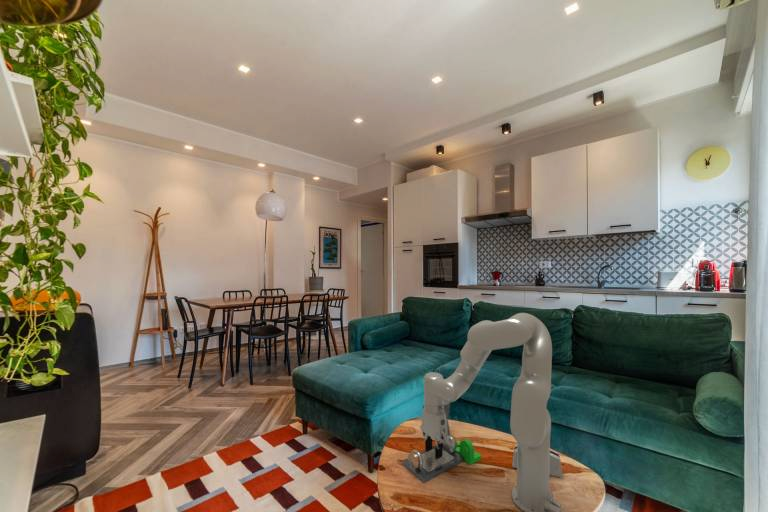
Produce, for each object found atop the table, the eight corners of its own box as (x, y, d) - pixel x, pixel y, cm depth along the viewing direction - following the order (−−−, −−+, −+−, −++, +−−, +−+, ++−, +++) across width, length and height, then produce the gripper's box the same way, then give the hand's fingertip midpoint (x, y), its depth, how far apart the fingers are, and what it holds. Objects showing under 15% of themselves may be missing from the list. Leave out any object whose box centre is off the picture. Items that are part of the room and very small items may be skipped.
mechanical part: (481, 460, 126) (481, 440, 126) (470, 465, 123) (470, 444, 123) (458, 445, 136) (458, 426, 136) (448, 449, 133) (448, 430, 133)
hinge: (560, 472, 119) (561, 446, 118) (563, 482, 115) (563, 456, 114) (511, 462, 125) (512, 437, 124) (512, 471, 121) (512, 446, 119)
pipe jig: (442, 445, 135) (442, 428, 135) (464, 461, 125) (464, 441, 125) (402, 464, 123) (402, 444, 123) (423, 482, 113) (423, 461, 113)
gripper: (457, 412, 119) (457, 462, 120) (426, 396, 133) (426, 440, 133) (442, 418, 115) (442, 469, 115) (411, 400, 129) (411, 446, 129)
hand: (433, 453), depth 124 cm, fingers open, 4 cm apart
